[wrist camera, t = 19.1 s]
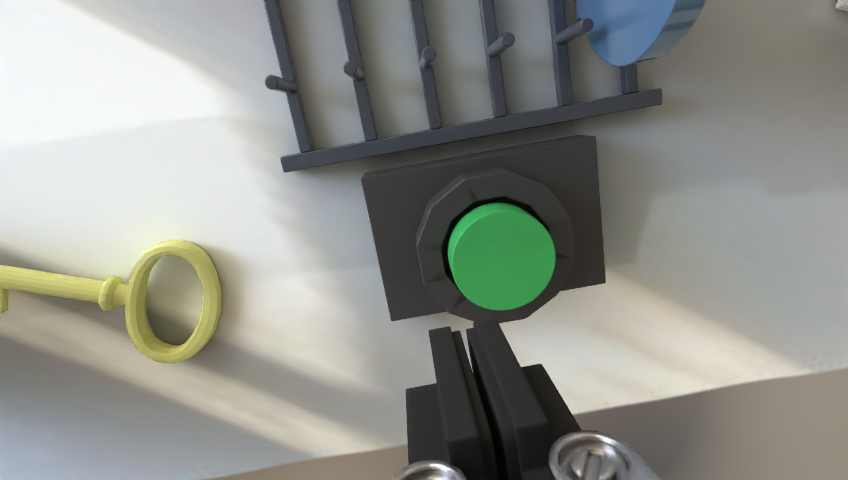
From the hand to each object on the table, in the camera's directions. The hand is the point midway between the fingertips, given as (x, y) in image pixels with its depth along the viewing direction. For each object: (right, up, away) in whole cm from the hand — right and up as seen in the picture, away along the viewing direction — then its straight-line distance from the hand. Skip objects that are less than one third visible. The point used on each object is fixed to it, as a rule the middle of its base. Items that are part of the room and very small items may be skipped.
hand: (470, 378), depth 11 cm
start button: (+2, +3, +12) cm, 12 cm away
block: (+2, +4, +15) cm, 16 cm away
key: (-19, +1, +15) cm, 24 cm away
